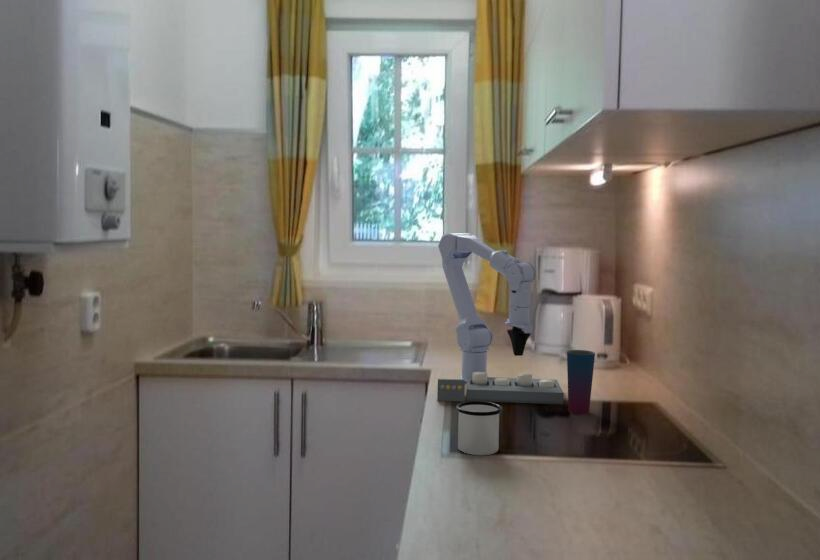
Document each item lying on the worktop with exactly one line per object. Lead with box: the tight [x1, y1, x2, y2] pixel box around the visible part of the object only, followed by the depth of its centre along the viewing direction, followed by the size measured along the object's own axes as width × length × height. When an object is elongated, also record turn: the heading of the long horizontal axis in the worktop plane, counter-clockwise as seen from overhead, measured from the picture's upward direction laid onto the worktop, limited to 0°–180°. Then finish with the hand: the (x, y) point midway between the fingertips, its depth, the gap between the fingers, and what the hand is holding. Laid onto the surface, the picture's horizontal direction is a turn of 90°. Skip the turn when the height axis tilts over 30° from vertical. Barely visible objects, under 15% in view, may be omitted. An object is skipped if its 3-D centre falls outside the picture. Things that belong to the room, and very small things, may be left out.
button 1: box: [472, 372, 488, 385], centre depth 204 cm, size 4×4×3 cm
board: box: [465, 376, 564, 405], centre depth 203 cm, size 16×25×3 cm, turn 85°
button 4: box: [539, 378, 554, 387], centre depth 203 cm, size 4×4×3 cm
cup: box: [566, 349, 596, 415], centre depth 186 cm, size 7×7×15 cm
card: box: [436, 378, 466, 402], centre depth 196 cm, size 1×7×6 cm, turn 86°
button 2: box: [494, 377, 509, 386], centre depth 204 cm, size 4×4×3 cm
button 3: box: [516, 372, 533, 387], centre depth 203 cm, size 4×4×3 cm
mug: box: [455, 401, 503, 457], centre depth 156 cm, size 12×10×9 cm
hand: (518, 355), depth 208 cm, fingers closed
